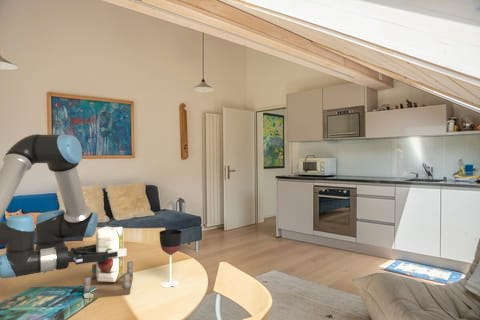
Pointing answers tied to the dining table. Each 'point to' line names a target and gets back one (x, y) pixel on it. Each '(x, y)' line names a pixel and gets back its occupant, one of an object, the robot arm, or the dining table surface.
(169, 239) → the wineglass
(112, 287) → the peg plinth
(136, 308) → the dining table surface
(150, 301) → the dining table surface
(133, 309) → the dining table surface
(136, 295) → the dining table surface
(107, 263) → the juice carton
